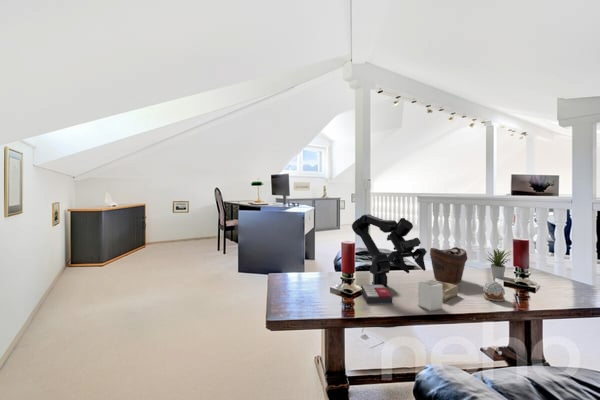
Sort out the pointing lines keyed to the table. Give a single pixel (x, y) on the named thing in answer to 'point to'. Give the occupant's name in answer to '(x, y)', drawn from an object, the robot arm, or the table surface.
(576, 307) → the table surface
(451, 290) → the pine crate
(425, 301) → the white upright block
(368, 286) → the red and white box
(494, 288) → the decorative ornament
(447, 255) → the brown flower pot
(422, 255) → the robot arm
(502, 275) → the house plant
